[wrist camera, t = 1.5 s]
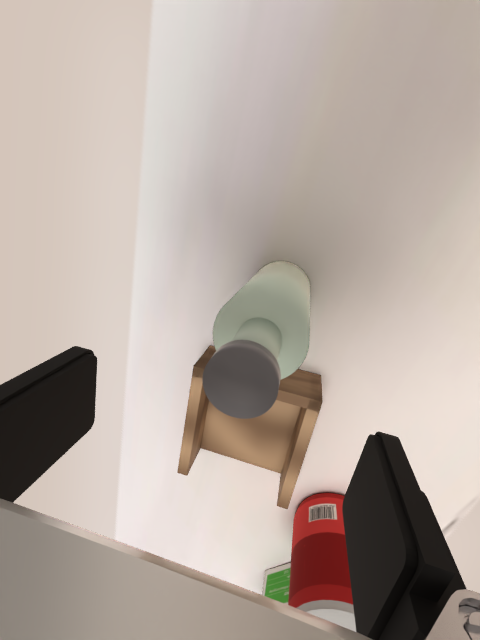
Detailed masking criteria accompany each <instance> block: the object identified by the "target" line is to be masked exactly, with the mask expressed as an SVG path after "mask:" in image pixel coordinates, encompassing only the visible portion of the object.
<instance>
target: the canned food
mask: <svg viewBox="0 0 480 640" xmlns="http://www.w3.org/2000/svg"><path fill="white" fill-rule="evenodd" d="M344 497H345V496H343V495H340V494H335V493H319V494H315V495H312V496H310V497H308V498H306V499H305V500H304V501H303V502H302V503H301V504H300V505H299V507H298V509H297V511H296V513H295V517H294V524H293V539H292V554H291V569H290V584H289V599H288V605H289V606H292V607H294V608H297V609H299V610H302V611H304V612H307V613H309V614H312V615H314V616H317V617H319V618H322V619H324V620H327V621H330V622H332V623H335V624H337V625H340V626H342V627H345V628H347V629H350V630H352V631H355V632H356V625H355V616H354V608H353V599H352V591H351V582H350V573H349V565H348V556H347V548H346V539H345V530H344V522H343V513H342V505H343V500H344Z"/></svg>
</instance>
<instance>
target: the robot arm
mask: <svg viewBox="0 0 480 640" xmlns="http://www.w3.org/2000/svg"><path fill="white" fill-rule="evenodd" d="M96 374H97V357H96V356H94V353H93V351H92V350H89V349H85V348H81V347H78V346H74V347H72V348H70V349H68V350H66V351H64V352H63V353H60V354H59V355H57V356H55V357H53V358H51V359H50V360H47V361H45V362H43V363H41V364H39V365H38V366H36V367H34V368H32V369H30V370H28V371H26V372H24V373H22V374H20V375H19V376H17V377H15V378H13V379H11V380H9V381H7V382H5V383H3V384H2V385H0V640H480V594H479V593H477V592H474V591H470V590H467V589H466V587H465V585H464V582H463V580H462V578H461V575H460V573H459V571H458V568H457V566H456V564H455V561H454V559H453V557H452V554H451V552H450V550H449V547H448V545H447V543H446V540H445V538H444V536H443V533H442V531H441V529H440V526H439V524H438V522H437V520H436V517H435V515H434V513H433V510H432V508H431V506H430V503H429V501H428V499H427V497H426V495H425V493H424V492H422V491H421V490H420V487H419V485H418V483H417V480H416V478H415V476H414V473H413V471H412V468H411V466H410V464H409V461H408V459H407V456H406V454H405V452H404V449H403V447H402V445H401V442H400V440H399V438H398V437H396V436H392V435H389V434H385V433H382V432H377V433H376V434H375V435H369V436H368V439H367V441H366V444H365V446H364V449H363V451H362V454H361V456H360V459H359V461H358V464H357V466H356V469H355V471H354V474H353V476H352V479H351V482H350V484H349V487H348V489H347V492H346V494H345V497H344V500H343V505H342V513H343V522H344V530H345V539H346V548H347V556H348V565H349V573H350V582H351V591H352V599H353V608H354V616H355V625H356V632H355V631H352V630H350V629H347V628H345V627H342V626H340V625H337V624H335V623H332V622H330V621H327V620H324V619H322V618H319V617H317V616H314V615H312V614H309V613H307V612H304V611H302V610H299V609H297V608H294V607H292V606H289V605H287V604H284V603H281V602H279V601H276V600H274V599H271V598H268V597H266V596H263V595H260V594H258V593H255V592H252V591H250V590H247V589H244V588H242V587H239V586H236V585H234V584H231V583H228V582H226V581H223V580H220V579H218V578H215V577H213V576H210V575H207V574H205V573H202V572H199V571H197V570H194V569H191V568H189V567H186V566H183V565H181V564H178V563H175V562H173V561H170V560H167V559H164V558H162V557H159V556H156V555H154V554H151V553H148V552H146V551H143V550H140V549H137V548H135V547H132V546H129V545H127V544H124V543H121V542H119V541H116V540H113V539H110V538H107V537H105V536H102V535H99V534H96V533H94V532H91V531H88V530H86V529H83V528H81V527H78V526H75V525H72V524H70V523H67V522H64V521H61V520H59V519H56V518H53V517H50V516H47V515H45V514H42V513H39V512H36V511H34V510H31V509H28V508H25V507H22V506H20V505H17V504H14V503H13V502H14V501H15V500H16V499H17V498H18V497H19V496H20V495H21V494H22V493H23V492H24V491H25V490H26V489H28V488H29V487H30V486H31V485H32V484H33V483H34V482H35V481H36V480H37V479H38V478H39V477H40V476H41V475H42V474H43V473H45V471H47V470H48V469H49V468H50V467H51V466H52V465H53V464H54V463H55V462H56V461H57V460H58V459H59V458H60V457H61V456H62V455H64V454H65V453H66V452H67V451H68V450H69V449H70V448H71V447H72V446H73V445H74V444H75V443H76V442H77V441H78V440H79V439H80V438H81V437H83V436H84V435H85V434H86V433H87V432H88V431H89V430H90V429H91V427H92V425H93V423H94V418H95V397H96Z"/></svg>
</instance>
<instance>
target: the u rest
mask: <svg viewBox="0 0 480 640" xmlns="http://www.w3.org/2000/svg"><path fill="white" fill-rule="evenodd" d="M215 352H216V349H215V347H214V346H209V347H208V349H207V350H206V351H205V352H204V354H203V355H202V356H201V357H200V359H199V360H198V361H197V362H196V364H195V365H194V367H193V374H192V381H191V387H190V394H189V400H188V407H187V413H186V420H185V427H184V433H183V440H182V446H181V453H180V459H179V466H178V473H181V474H184V475H188V473H189V471H190V469H191V466H192V464H193V462H194V460H195V458H196V456H197V454H198V452H199V450H200V448H203V449H206V450H209V451H212V452H215V453H218V454H221V455H224V456H228V457H231V458H234V459H237V460H240V461H243V462H246V463H250V464H253V465H256V466H259V467H262V468H265V469H268V470H271V471H275V472H278V473H281V477H280V485H279V493H278V501H277V506H279V507H282V508H285V509H288V506H289V503H290V500H291V497H292V494H293V490H294V487H295V484H296V481H297V478H298V475H299V472H300V469H301V466H302V463H303V460H304V457H305V454H306V451H307V448H308V445H309V441H310V438H311V435H312V432H313V429H314V426H315V423H316V420H317V417H318V414H319V411H320V408H321V405H322V385H321V375H318V374H314V373H310V372H307V371H303V370H299V369H297V370H296V371H295V372H294V373H292V374H291V375H289V376H288V377H286V378H284V379H281V380H280V385H279V390H278V395H277V398H276V401H275V403H274V404H273V406H272V407H271V408H270V409H269V410H268V411H267V412H266V413H264V414H262V415H261V416H258V417H255V418H249V419H240V418H235V417H231V416H228V415H226V414H224V413H223V412H221V411H219V410H218V409H217V408H216V407H215V406H214V405H213V404H212V403H211V402H210V401H209V399H208V398H207V396H206V394H205V391H204V388H203V382H202V378H203V372H204V369H205V366H206V365H207V363H208V362H209V360H210V359H211V358H212V356H213V355H214V353H215Z"/></svg>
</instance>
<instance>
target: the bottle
mask: <svg viewBox="0 0 480 640" xmlns="http://www.w3.org/2000/svg"><path fill="white" fill-rule="evenodd" d="M310 294H311V289H310V282H309V280H308V277H307V276H306V274H305V273H304V271H303V270H302V269H301V268H299V267H298V266H296V265H295V264H292V263H290V262H285V261H277V262H272V263H269V264H267V265H265V266H264V267H263V268H261V269H260V270H259V271H258V272H257V273H256V274H255V275H254V276H253V277H252V278H251V279H250V280H249V281H248V282H247V283H246V284H245V285H244V286H243V287H242V288H241V289H240V290H239V291H238V292H237V293H236V294H235V295H234V296H233V297H232V298H231V299H230V300H229V301H228V302H227V303H226V304H225V305H224V306H223V307H222V309H221V310H220V311H219V313H218V315H217V317H216V319H215V322H214V326H213V341H214V346H215V349H216V352H215V353H214V355H213V356H212V358H211V359H210V360H209V362H208V363H207V365H206V366H205V369H204V372H203V378H202V382H203V388H204V391H205V394H206V396H207V398H208V399H209V401H210V402H211V403H212V404H213V405H214V406H215V407H216V408H217V409H218V410H219V411H221V412H223V413H224V414H226V415H228V416H231V417H235V418H240V419H249V418H255V417H258V416H261V415H262V414H264V413H266V412H267V411H268V410H269V409H270V408H271V407H272V406H273V404H274V403H275V401H276V398H277V395H278V390H279V385H280V380H281V379H284V378H286V377H288V376H289V375H291V374H292V373H294V372H295V371H296V370H297V369H298V368H299V367H300V366H301V364H302V363H303V361H304V359H305V358H306V355H307V352H308V348H309V336H310Z"/></svg>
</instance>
